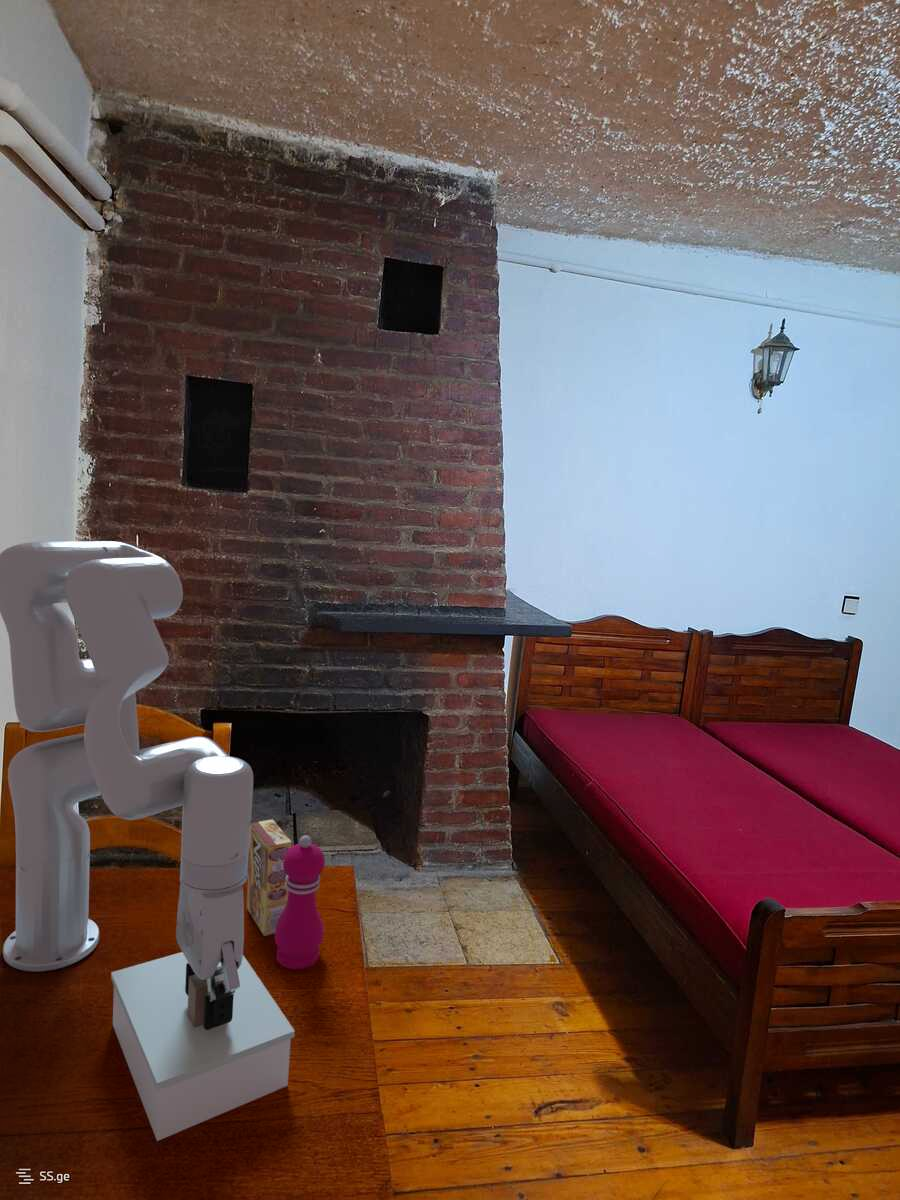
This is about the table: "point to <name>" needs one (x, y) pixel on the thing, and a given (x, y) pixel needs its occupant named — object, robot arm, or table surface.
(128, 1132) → the table surface
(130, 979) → the lid
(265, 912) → the candy box
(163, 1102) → the storage box
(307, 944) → the pepper mill
